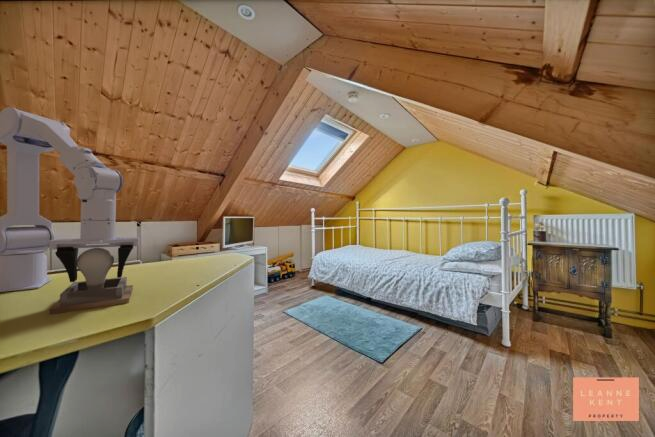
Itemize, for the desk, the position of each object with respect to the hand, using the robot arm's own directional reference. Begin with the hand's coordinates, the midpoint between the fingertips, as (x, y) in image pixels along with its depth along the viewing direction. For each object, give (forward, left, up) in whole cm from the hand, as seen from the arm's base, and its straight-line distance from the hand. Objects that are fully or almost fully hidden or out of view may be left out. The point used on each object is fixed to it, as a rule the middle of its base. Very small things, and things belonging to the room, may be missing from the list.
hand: (97, 278), depth 54 cm
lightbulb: (0, 0, -4) cm, 4 cm away
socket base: (0, 0, -5) cm, 5 cm away
